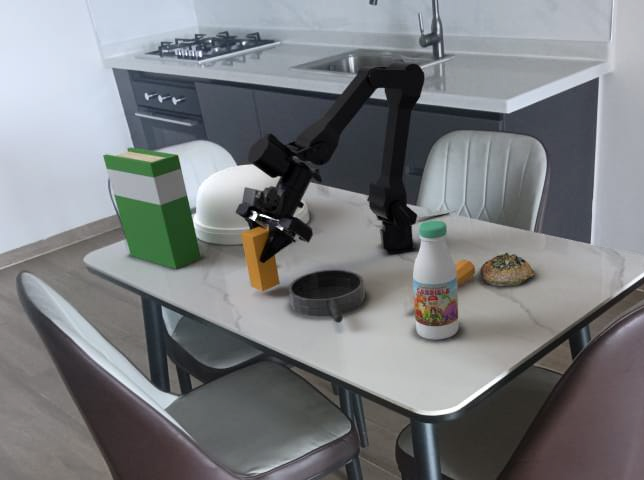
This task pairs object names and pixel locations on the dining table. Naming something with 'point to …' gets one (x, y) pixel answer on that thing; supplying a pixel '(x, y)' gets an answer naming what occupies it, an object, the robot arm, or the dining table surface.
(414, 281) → the milk bottle
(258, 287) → the cheese
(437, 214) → the fork
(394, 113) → the robot arm
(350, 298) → the pan
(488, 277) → the bread roll
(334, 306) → the pan handle
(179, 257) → the hardback book
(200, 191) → the dome cover
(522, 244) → the dining table surface
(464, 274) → the carrot
